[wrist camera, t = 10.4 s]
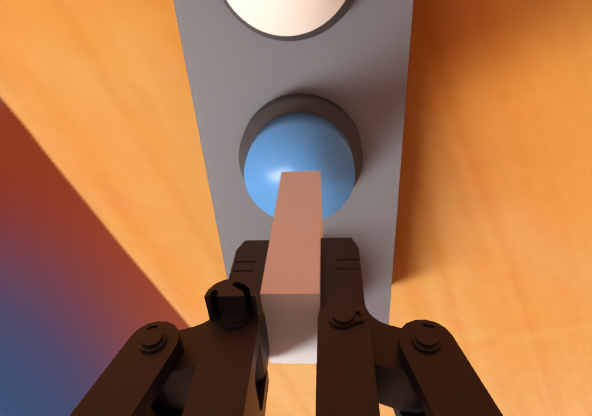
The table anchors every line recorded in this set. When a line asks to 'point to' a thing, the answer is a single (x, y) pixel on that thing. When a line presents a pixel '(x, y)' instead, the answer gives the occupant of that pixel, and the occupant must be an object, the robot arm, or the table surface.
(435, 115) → the table surface
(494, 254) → the table surface
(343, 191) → the blue button
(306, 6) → the ivory button
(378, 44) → the button panel
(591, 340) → the table surface
